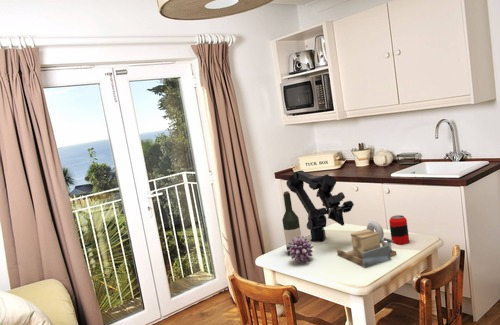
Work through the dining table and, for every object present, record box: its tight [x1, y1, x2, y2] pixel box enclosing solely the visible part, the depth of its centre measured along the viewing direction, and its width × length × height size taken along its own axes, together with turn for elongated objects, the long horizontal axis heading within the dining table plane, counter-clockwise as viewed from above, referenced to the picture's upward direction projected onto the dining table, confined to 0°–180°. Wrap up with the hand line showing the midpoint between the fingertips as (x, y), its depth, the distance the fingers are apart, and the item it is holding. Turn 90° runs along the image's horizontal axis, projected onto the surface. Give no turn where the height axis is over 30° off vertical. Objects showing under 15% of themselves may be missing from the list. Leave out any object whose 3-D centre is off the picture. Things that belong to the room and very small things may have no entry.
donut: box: [366, 221, 385, 243], centre depth 200 cm, size 10×3×10 cm, turn 24°
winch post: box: [381, 237, 397, 258], centre depth 179 cm, size 6×5×8 cm
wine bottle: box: [281, 191, 302, 257], centre depth 202 cm, size 8×8×30 cm
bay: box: [336, 245, 392, 269], centre depth 182 cm, size 20×13×7 cm, turn 21°
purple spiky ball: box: [286, 235, 314, 263], centre depth 189 cm, size 12×12×12 cm
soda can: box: [388, 214, 410, 246], centre depth 194 cm, size 8×8×12 cm
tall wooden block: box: [350, 228, 381, 259], centre depth 178 cm, size 8×8×11 cm
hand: (343, 225), depth 192 cm, fingers closed
